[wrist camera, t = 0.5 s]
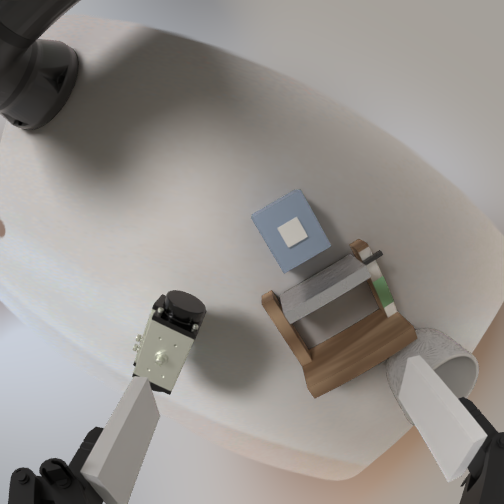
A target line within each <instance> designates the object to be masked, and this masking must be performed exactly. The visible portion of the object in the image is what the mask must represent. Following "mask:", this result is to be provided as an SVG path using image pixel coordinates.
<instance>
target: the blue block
mask: <svg viewBox="0 0 504 504" xmlns="http://www.w3.org/2000/svg"><path fill="white" fill-rule="evenodd" d="M251 219H252V220H253V222H254V224H255V225H256V227H257V229H258V230H259V232H260V234H261V235H262V237H263V239H264V240H265V242H266V244H267V245H268V247H269V249H270V251H271V252H272V254H273V256H274V257H275V259H276V261H277V262H278V264H279V266H280V267H281V269H282V271H283V273H286V272H288V271H289V270H291V269H293V268H295V267H296V266H298V265H300V264H302V263H303V262H305V261H307V260H309V259H310V258H312V257H314V256H315V255H317V254H319V253H321V252H322V251H324V250H326V249H327V248H329V247H331V244H330V242H329V240H328V239H327V237H326V235H325V233H324V231H323V229H322V227H321V225H320V224H319V222H318V220H317V218H316V216H315V215H314V213H313V211H312V209H311V207H310V206H309V204H308V202H307V200H306V198H305V197H304V195H303V193H302V191H301V190H293V191H291V192H290V193H288V194H286V195H284V196H283V197H281V198H279V199H278V200H276V201H274V202H272V203H271V204H269V205H267V206H266V207H264V208H262V209H260V210H259V211H257V212H255V213H254V214H252V216H251Z"/></svg>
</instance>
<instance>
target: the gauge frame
mask: <svg viewBox="0 0 504 504" xmlns="http://www.w3.org/2000/svg"><path fill="white" fill-rule="evenodd" d="M350 247H351V249H352V251H353V253H354V255H355V257H356V259H357V260H359V261H360V262H362V261H363V260H365V259H367V258H368V257H370V256H371V255H373V254H372V251H371V249H370V247H369V246H368V244H367V243H366V242H364V241H362V240H360V239H358V240H356V241H355V242H353V243H351V244H350ZM366 267H367V269H368V271H369V273H370V275H371V277H370V278H368V279H367V282H368V284H369V287H370V289H371V291H372V293H373V295H374V298H375V300H376V302H377V304H378V307H379V309H378V310H377V311H375V312H373V313H372V314H370V315H369V316H367V317H365V318H364V319H362V320H360V321H359V322H357V323H355V324H354V325H352V326H350V327H349V328H347V329H345V330H344V331H342V332H340V333H338V334H337V335H335V336H333V337H331V338H330V339H328V340H326V341H324V342H322V343H321V344H319V345H317V346H315V347H313V348H311V349H308V348H307V346H306V345H305V343H304V341H303V340H302V338H301V337H300V335H299V333H298V332H297V330H296V329H295V327H294V325H293V324H290V323H289V322H288V320H287V319H286V317H285V315H284V314H283V309H282V306H281V304H280V303H279V301H278V300H277V298H276V296H275V295H274V293H273V291H272V290H271V291H270V292H268V293H266V294H264V295H262V305H263V307H264V308H265V310H266V311H267V313H268V315H269V316H270V318H271V319H272V321H273V322H274V324H275V325H276V327H277V329H278V330H279V332H280V333H281V335H282V336H283V338H284V339H285V341H286V342H287V344H288V345H289V347H290V348H291V350H292V351H293V353H294V355H295V356H296V358H297V359H298V361H299V362H300V364H301V365H302V367H303V372H304V376H305V380H306V384H307V388H308V390H309V391H310V393H311V394H312V396H313V397H314V398H317V397H319V396H321V395H323V394H325V393H327V392H329V391H331V390H333V389H335V388H337V387H339V386H340V385H342V384H344V383H346V382H348V381H350V380H352V379H353V378H355V377H357V376H359V375H360V374H362V373H364V372H366V371H367V370H369V369H371V368H373V367H374V366H376V365H378V364H379V363H381V362H382V361H384V360H386V359H387V358H389V357H391V356H392V355H394V354H395V353H397V352H398V351H400V350H401V349H403V348H404V347H406V346H407V345H409V344H410V343H412V342H413V341H415V340H416V339H418V338H417V335H416V332H415V329H414V326H413V325H411V324H410V323H409V322H408V321H407V320H406V319H405V318H404V317H403V316H402V315H401V314H400V313H398V312H397V309H396V307H395V304H394V300H393V298H392V295H391V293H390V291H389V288H388V286H387V283H386V281H385V279H384V277H383V276H382V273H381V271H380V269H379V267H378V264H377V262H376V260H374V261H373V262H371V263H369V264H368V265H366Z"/></svg>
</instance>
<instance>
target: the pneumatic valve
mask: <svg viewBox="0 0 504 504" xmlns="http://www.w3.org/2000/svg"><path fill="white" fill-rule="evenodd" d="M205 313H206V308H205V305H204V304H203V303H202V302H201V301H200V300H199V299H198V298H196V297H195V296H193V295H191V294H189V293H186V292H183V291H177V290H173V291H170V292H168V293H167V295H166V296H165V295H163V294H162V295H161V296H160V298H159V299H158V300H157V301H156V302H155V303H154V305H153V308H152V311H151V314H150V317H149V319H148V322H147V325H146V328H145V331H144V334H143V336H142V338H141V335H139V334H138V336H137V338H136V341H138V342H139V341H140V346H139V347H138V345H137V344H135V345H134V347H133V350H134V351H136V350H137V355H136V358H135V361H134V364H133V365H134V366H135V369H134V372H133V376H132V377H134V376H137V377H148V379H149V383H150V386H151V389H152V390H153V391H158V392H165V393H167V394H169V395H170V394H171V392H172V389H173V387H174V385H175V382H176V380H177V378H178V376H179V373H180V371H181V369H182V367H183V365H184V362H185V360H186V358H187V356H188V353H189V351H190V349H191V347H192V344H193V342H194V340H195V338H196V336H197V333H198V331H199V328H200V326H201V323H202V321H203V318H204V316H205Z"/></svg>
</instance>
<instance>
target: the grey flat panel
mask: <svg viewBox="0 0 504 504" xmlns="http://www.w3.org/2000/svg"><path fill="white" fill-rule="evenodd" d="M382 255H383V253H382V251H380V250H379V251H378V252H376V253H374V254H373V255H371V256H370V257H368V258H367V259H365V260H363V261H362V262H360V261H359V260H357V259H356V258H355V257H353V256H352V255H350V254H349V255H347V256H346V257H344V258H342V259H341V260H339V261H337V262H336V263H334V264H332V265H331V266H329V267H327V268H326V269H324V270H322V271H321V272H319V273H317V274H316V275H314V276H312V277H310V278H309V279H307V280H305V281H304V282H302V283H300V284H298V285H297V286H295V287H293V288H291V289H290V290H288V291H286V292H284V293H283V294H281V295H280V300H281V304H282V309H283V314H284V315H285V317H286V319H287V320H288V322H289V323H290V324H292V323H294V322H295V321H297V320H299V319H301V318H303V317H304V316H306V315H308V314H310V313H312V312H313V311H315V310H317V309H319V308H320V307H322V306H324V305H325V304H327V303H329V302H331V301H332V300H334V299H336V298H337V297H339V296H341V295H342V294H344V293H346V292H347V291H349V290H351V289H352V288H354V287H356V286H357V285H359V284H360V283H362V282H364V281H365V280H367V279H368V278H370V277H371V275H370V273H369V271H368V269H367V267H366V265H368V264H369V263H371V262H373V261H374V260H376V259H377V258H379V257H380V256H382Z"/></svg>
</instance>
